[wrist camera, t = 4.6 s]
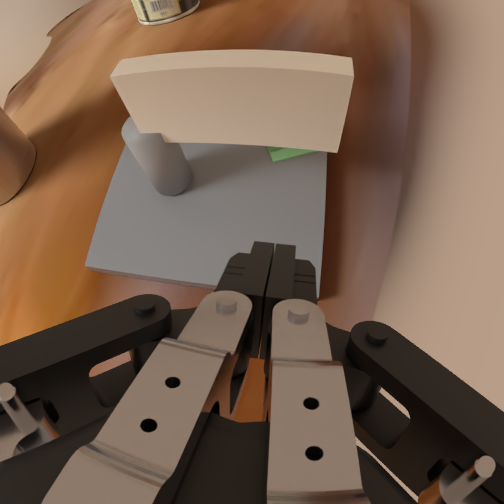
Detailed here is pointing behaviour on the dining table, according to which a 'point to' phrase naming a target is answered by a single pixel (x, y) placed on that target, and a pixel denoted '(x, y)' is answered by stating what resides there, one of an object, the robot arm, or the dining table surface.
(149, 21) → the coffee can
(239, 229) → the board
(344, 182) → the dining table surface
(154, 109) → the lever handle
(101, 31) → the dining table surface
